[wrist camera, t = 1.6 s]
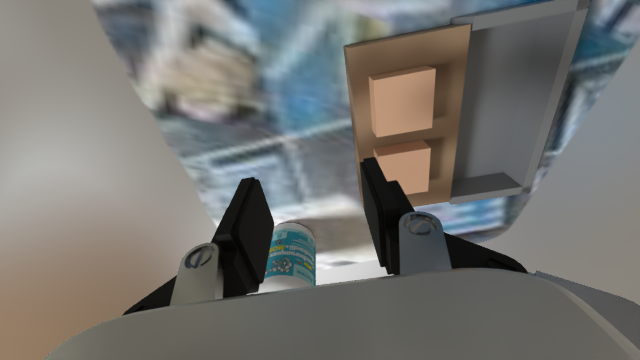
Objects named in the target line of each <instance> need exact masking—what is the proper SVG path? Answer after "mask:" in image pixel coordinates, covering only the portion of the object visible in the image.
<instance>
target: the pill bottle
mask: <svg viewBox="0 0 640 360" xmlns="http://www.w3.org/2000/svg"><path fill="white" fill-rule="evenodd" d="M315 278H316V247H315V238H314V236H313V234H312V233H311V231H310V230H309V229H307V228H306V227H304V226H302V225H300V224H296V223H283V224H280V225H277V226H275V227H274V230H273V236H272V241H271V246H270V251H269V256H268V262H267V267H266V272H265V277H264V282H263V283H262V284H260V286H259V291H258V292H257V293H264V292H271V291H279V290H286V289H293V288H301V287H308V286H316V279H315ZM257 293H252V294H257Z"/></svg>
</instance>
